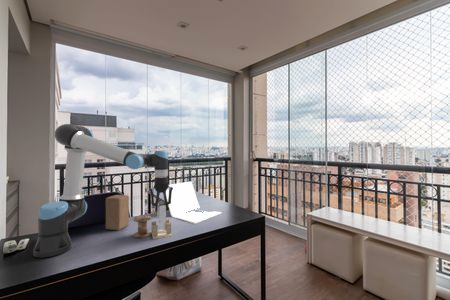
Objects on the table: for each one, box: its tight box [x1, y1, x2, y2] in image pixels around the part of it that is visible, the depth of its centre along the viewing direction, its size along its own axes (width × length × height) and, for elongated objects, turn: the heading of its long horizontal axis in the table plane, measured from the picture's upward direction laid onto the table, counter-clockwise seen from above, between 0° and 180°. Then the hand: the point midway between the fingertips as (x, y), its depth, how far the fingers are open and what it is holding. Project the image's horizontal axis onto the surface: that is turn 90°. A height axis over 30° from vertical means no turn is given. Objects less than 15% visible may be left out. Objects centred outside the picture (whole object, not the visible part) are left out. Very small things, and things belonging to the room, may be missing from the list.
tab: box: [157, 200, 167, 224], centre depth 126 cm, size 3×9×11 cm, turn 24°
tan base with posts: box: [150, 219, 172, 240], centre depth 126 cm, size 10×10×7 cm
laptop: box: [166, 181, 223, 225], centre depth 166 cm, size 30×35×23 cm
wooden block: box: [105, 194, 130, 231], centre depth 138 cm, size 10×10×20 cm
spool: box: [133, 215, 152, 239], centre depth 126 cm, size 9×9×10 cm
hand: (161, 216), depth 126 cm, fingers closed on tab, 3 cm apart
